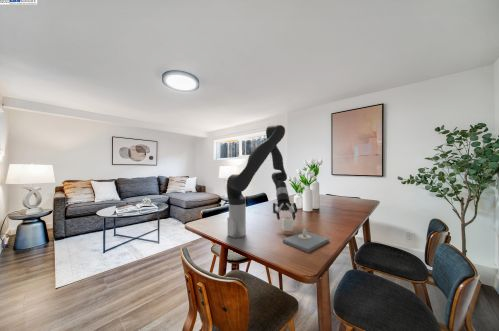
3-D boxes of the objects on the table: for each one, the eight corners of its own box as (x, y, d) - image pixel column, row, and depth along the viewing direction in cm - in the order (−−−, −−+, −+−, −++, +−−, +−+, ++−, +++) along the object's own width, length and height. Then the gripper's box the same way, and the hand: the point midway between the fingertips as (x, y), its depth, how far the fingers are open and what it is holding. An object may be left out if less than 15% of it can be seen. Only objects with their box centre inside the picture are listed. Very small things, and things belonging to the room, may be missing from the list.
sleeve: (292, 234, 99) (292, 219, 99) (283, 234, 99) (283, 219, 99) (290, 231, 104) (290, 217, 104) (281, 231, 104) (281, 217, 104)
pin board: (308, 252, 78) (307, 240, 78) (282, 242, 89) (282, 231, 89) (328, 241, 89) (328, 230, 89) (304, 233, 100) (304, 223, 100)
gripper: (271, 192, 112) (274, 216, 101) (294, 192, 112) (300, 215, 101) (270, 199, 117) (273, 222, 106) (292, 199, 118) (297, 222, 106)
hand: (286, 219), depth 103 cm, fingers open, 8 cm apart
